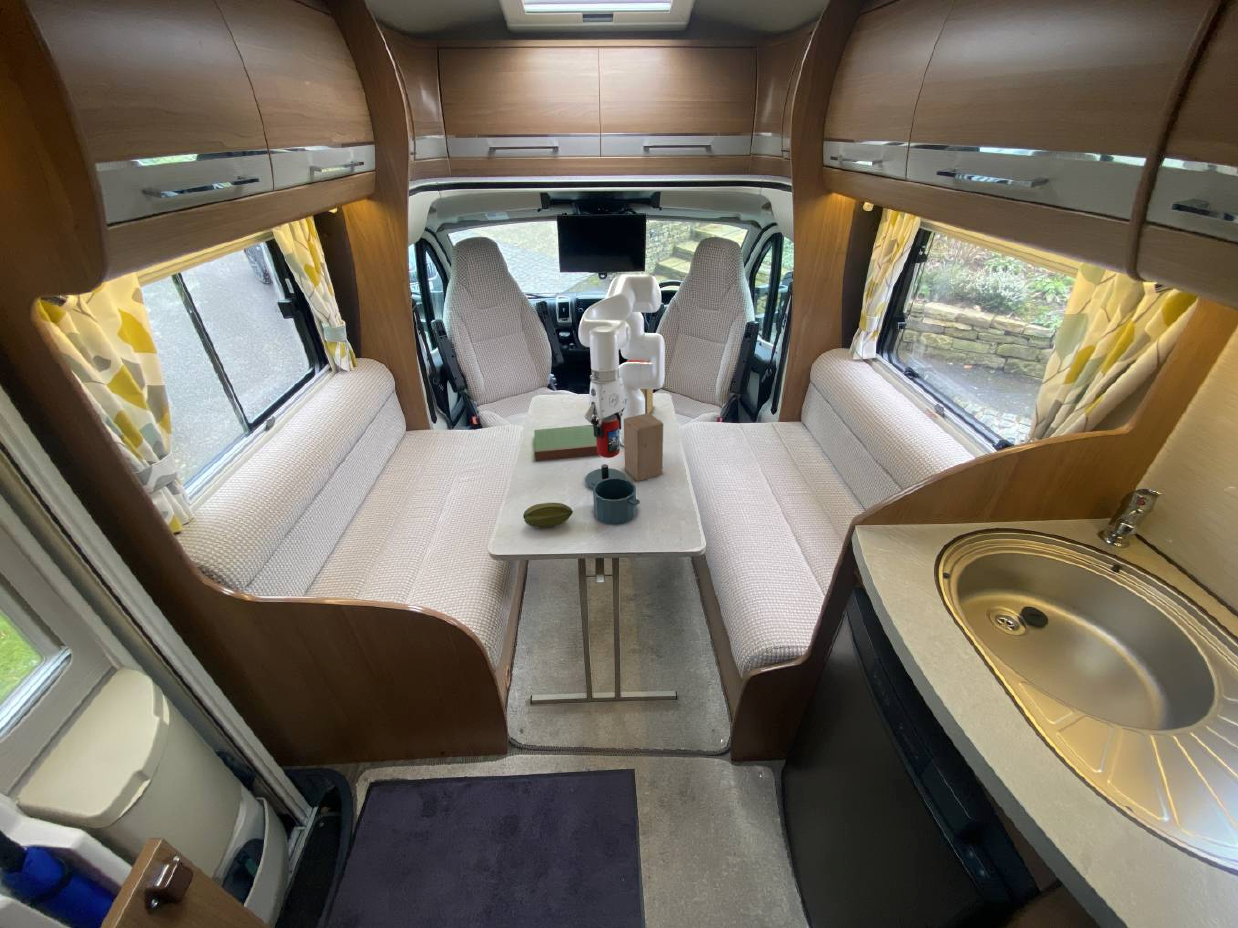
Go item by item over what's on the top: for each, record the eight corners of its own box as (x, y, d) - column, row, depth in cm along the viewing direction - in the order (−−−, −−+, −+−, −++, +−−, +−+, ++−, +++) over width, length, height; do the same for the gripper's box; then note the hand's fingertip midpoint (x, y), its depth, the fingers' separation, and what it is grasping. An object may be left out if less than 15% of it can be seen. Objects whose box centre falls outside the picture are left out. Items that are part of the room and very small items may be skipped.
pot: (608, 492, 165) (607, 470, 161) (651, 513, 154) (651, 490, 150) (580, 509, 157) (578, 486, 153) (622, 533, 146) (622, 509, 142)
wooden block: (637, 482, 170) (637, 429, 160) (624, 469, 178) (623, 418, 168) (662, 474, 174) (663, 423, 164) (648, 462, 182) (648, 412, 172)
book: (535, 460, 185) (534, 452, 183) (535, 438, 201) (534, 430, 199) (602, 454, 188) (602, 445, 186) (596, 432, 204) (596, 424, 202)
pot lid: (605, 466, 180) (604, 452, 177) (633, 480, 172) (633, 464, 169) (577, 482, 171) (575, 467, 168) (605, 496, 163) (605, 481, 160)
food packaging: (633, 405, 227) (633, 351, 215) (653, 406, 225) (654, 353, 212) (626, 417, 216) (625, 361, 204) (647, 419, 214) (647, 363, 201)
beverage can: (617, 460, 144) (616, 422, 138) (594, 458, 145) (592, 421, 139) (622, 449, 149) (621, 412, 143) (600, 447, 151) (598, 411, 145)
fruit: (548, 508, 158) (546, 490, 155) (575, 522, 151) (574, 504, 148) (520, 525, 151) (518, 507, 147) (548, 541, 144) (546, 522, 141)
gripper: (591, 386, 127) (595, 447, 136) (636, 368, 138) (637, 426, 147) (572, 379, 131) (576, 439, 140) (617, 362, 142) (618, 419, 151)
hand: (607, 432), depth 143 cm, fingers closed on beverage can, 6 cm apart
